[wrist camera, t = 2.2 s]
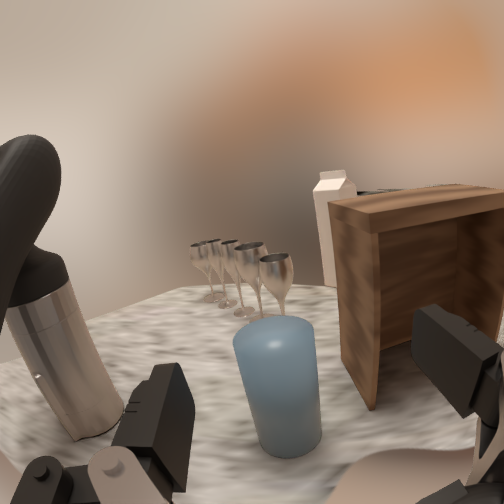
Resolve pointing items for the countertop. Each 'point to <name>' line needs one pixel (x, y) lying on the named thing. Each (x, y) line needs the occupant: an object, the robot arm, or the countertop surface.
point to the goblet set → (244, 271)
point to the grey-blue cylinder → (281, 383)
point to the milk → (328, 190)
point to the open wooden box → (414, 267)
